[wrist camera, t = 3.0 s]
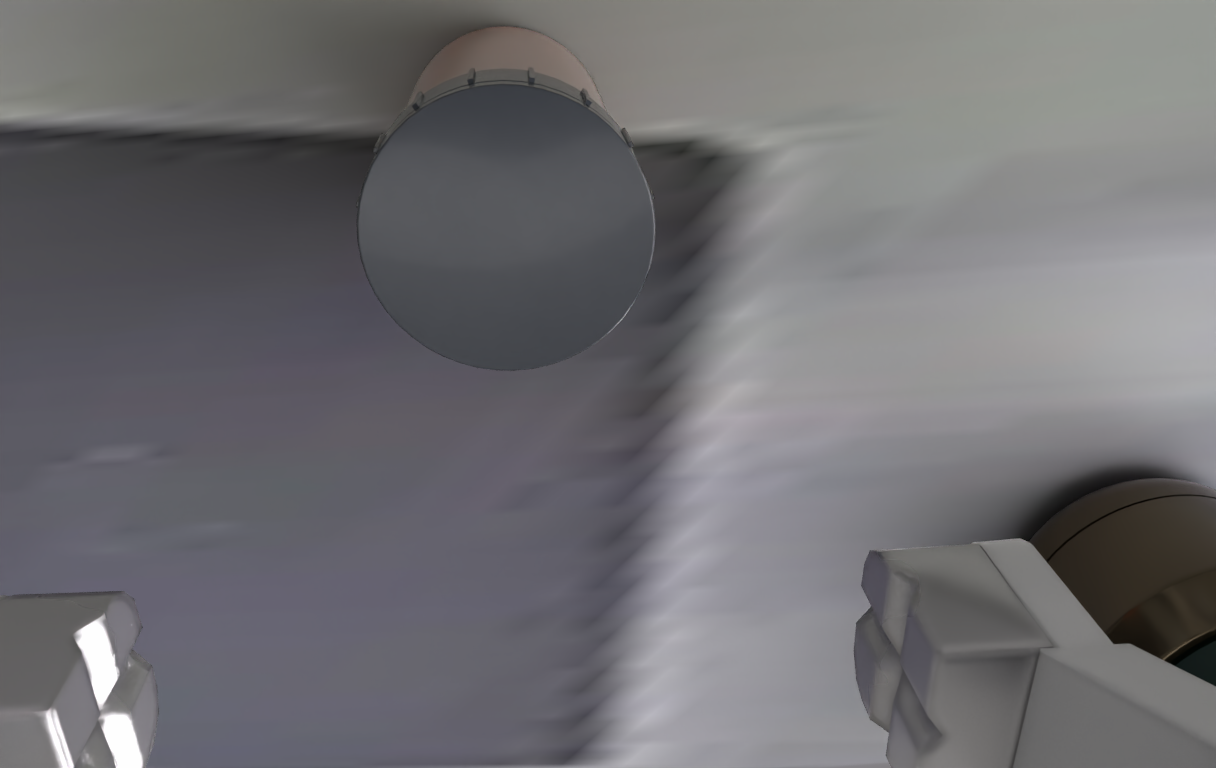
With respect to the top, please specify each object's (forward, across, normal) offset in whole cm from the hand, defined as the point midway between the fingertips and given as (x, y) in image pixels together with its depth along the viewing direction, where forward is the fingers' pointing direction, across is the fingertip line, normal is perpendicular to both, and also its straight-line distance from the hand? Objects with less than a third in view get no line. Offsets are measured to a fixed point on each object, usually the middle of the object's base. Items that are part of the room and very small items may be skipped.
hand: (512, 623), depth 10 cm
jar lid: (+12, 0, 0) cm, 12 cm away
